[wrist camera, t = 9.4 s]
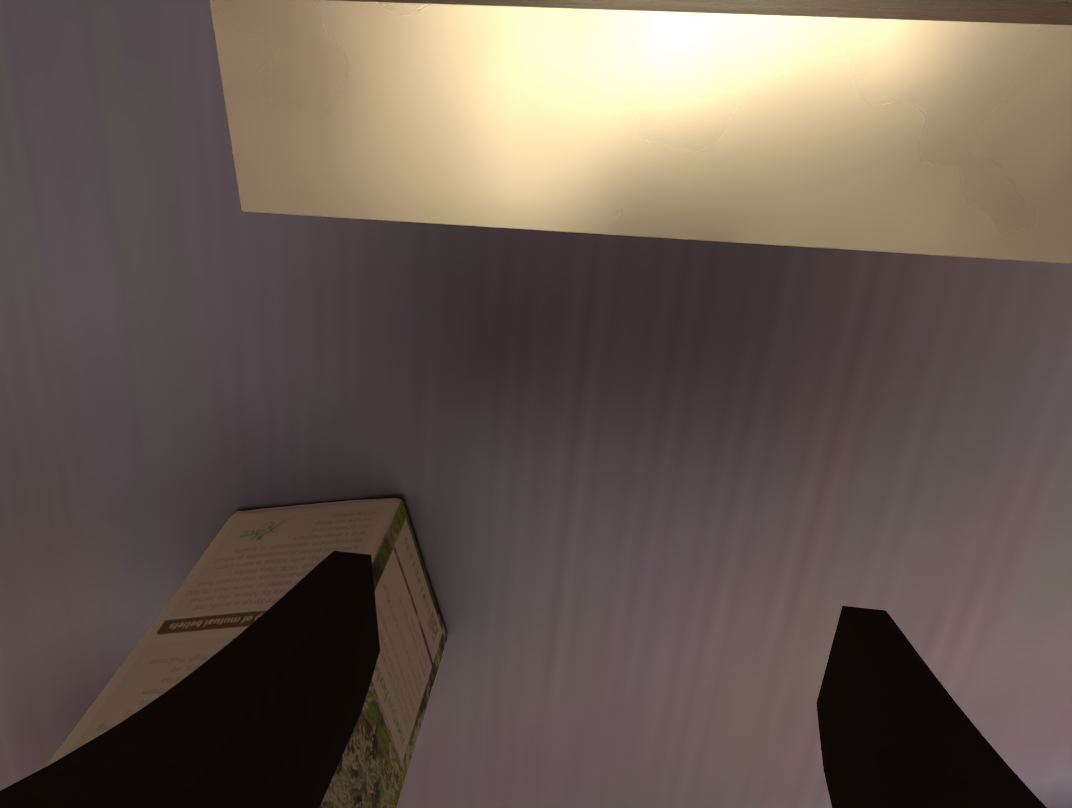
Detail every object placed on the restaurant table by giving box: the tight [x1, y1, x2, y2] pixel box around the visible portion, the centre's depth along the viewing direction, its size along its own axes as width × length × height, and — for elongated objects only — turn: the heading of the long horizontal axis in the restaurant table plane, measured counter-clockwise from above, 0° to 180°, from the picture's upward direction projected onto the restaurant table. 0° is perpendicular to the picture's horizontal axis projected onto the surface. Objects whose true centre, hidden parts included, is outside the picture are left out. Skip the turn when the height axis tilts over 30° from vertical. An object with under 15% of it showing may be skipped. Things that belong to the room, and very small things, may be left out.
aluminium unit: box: [210, 0, 1072, 264], centre depth 14 cm, size 16×5×7 cm, turn 89°
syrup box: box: [44, 498, 447, 808], centre depth 19 cm, size 6×6×14 cm
